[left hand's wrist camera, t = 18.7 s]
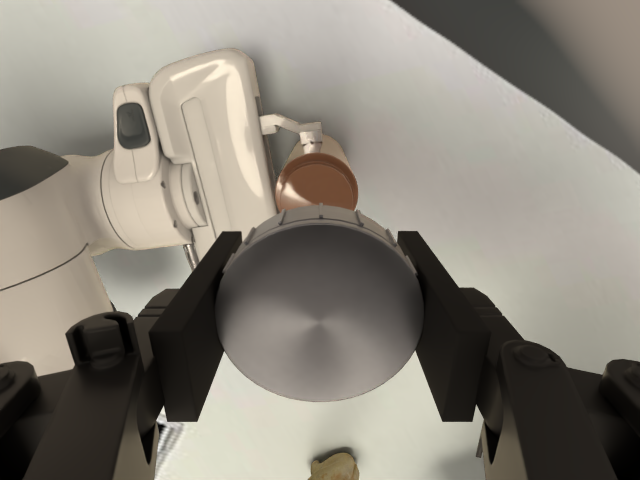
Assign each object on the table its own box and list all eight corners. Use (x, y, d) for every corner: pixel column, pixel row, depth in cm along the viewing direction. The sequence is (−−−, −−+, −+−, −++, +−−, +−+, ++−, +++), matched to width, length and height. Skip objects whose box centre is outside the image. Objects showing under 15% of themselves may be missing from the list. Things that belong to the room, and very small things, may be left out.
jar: (355, 153, 36) (378, 188, 22) (325, 199, 37) (329, 257, 24) (308, 122, 35) (301, 137, 21) (279, 170, 36) (256, 214, 23)
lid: (187, 284, 12) (165, 314, 10) (328, 159, 10) (330, 170, 9) (311, 392, 14) (310, 432, 12) (448, 298, 12) (469, 330, 11)
